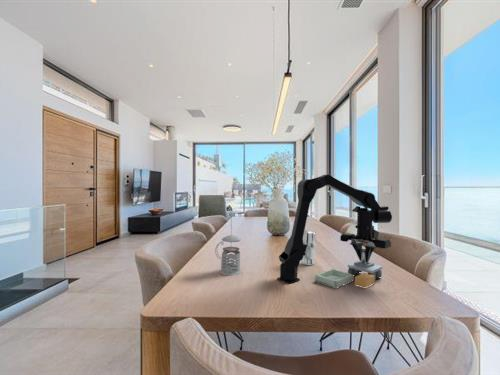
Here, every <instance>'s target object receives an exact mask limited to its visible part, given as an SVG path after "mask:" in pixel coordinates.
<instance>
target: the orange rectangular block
mask: <svg viewBox="0 0 500 375" xmlns="http://www.w3.org/2000/svg"><path fill="white" fill-rule="evenodd" d="M375 282H376V279H375V276H374V275H370V274H368V273H367V272H362V273H361V274H358V275H355V276H354V285H355V284H356V285H359V286H362V287H367V286H369V285H371V284H373V283H374V284H375Z"/></svg>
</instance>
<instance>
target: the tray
mask: <svg viewBox="0 0 500 375" xmlns="http://www.w3.org/2000/svg"><path fill="white" fill-rule="evenodd" d="M314 276H315V281H314V282H315V283H319V284H322V283H323V284H322V285H325V284H326V285H325V286H328V285H329V286H328V287H331V286H332V288H334V287H335V288H334V289H338V288H340V287H339V286H341V285H343V284H345V285H347V284H346V283H348V282H350V281H352V280H353V281H354V276H353V274H350V273H348V272H345V271H342V270H338V269H334V268H333V269H332V268H331V269H329V270H326V271H324V272H320V273H317V274H315V275H314ZM353 281H352V282H353ZM350 283H351V282H350ZM348 284H349V283H348ZM343 286H344V285H343ZM337 287H338V288H337ZM341 287H342V286H341Z"/></svg>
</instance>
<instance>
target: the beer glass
mask: <svg viewBox="0 0 500 375" xmlns="http://www.w3.org/2000/svg"><path fill="white" fill-rule="evenodd" d="M316 234H317V232H316V231H313V230H304V235H303V243H304V244H306V245H307V248H306V251H305V256H303V259H302V260H301V265H304V266H314V265H315V264H316V262H315V252H316V247H317V235H316Z"/></svg>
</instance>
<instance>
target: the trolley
mask: <svg viewBox="0 0 500 375" xmlns="http://www.w3.org/2000/svg"><path fill="white" fill-rule="evenodd" d="M347 268H348V270H347V273H350V274H353V275H355V274H356V275H357V274H359V272H362V273H367V274H370V275H374V276H375V280H377V278H379V277H381V278H382V274H383V272H382V270H383V266H382V265H379V264H378V265H377V264H375V263H374V262H370V261H369V262H367V265H365V264H361V261H360V260H357V261H355V262H352V263H349V264H347ZM356 272H358V273H356ZM356 275H355V276H356Z"/></svg>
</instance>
